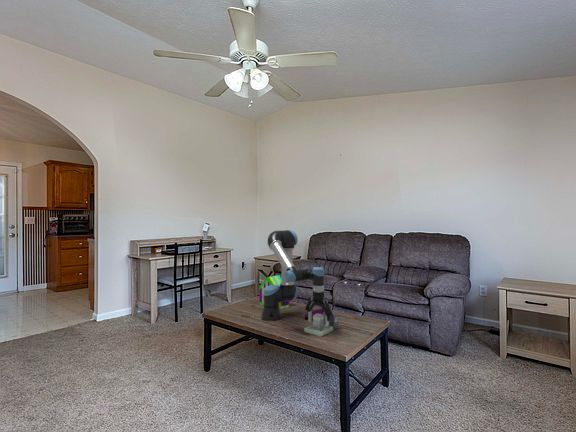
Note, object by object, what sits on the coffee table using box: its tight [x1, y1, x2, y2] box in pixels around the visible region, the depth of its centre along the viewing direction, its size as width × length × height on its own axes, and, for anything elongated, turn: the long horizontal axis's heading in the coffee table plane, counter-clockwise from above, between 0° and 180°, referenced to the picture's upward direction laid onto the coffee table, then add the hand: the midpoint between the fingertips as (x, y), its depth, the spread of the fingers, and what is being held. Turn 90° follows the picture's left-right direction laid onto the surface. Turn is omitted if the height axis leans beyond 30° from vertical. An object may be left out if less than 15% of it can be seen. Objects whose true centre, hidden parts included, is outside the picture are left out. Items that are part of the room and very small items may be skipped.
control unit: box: [323, 311, 339, 331], centre depth 222 cm, size 10×6×10 cm, turn 50°
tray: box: [303, 324, 334, 338], centre depth 215 cm, size 14×14×2 cm
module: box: [312, 313, 324, 332], centre depth 215 cm, size 5×5×10 cm
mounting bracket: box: [304, 307, 324, 318], centre depth 240 cm, size 9×8×18 cm
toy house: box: [258, 274, 291, 310], centre depth 278 cm, size 24×14×25 cm, turn 42°
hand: (318, 323), depth 215 cm, fingers open, 13 cm apart
